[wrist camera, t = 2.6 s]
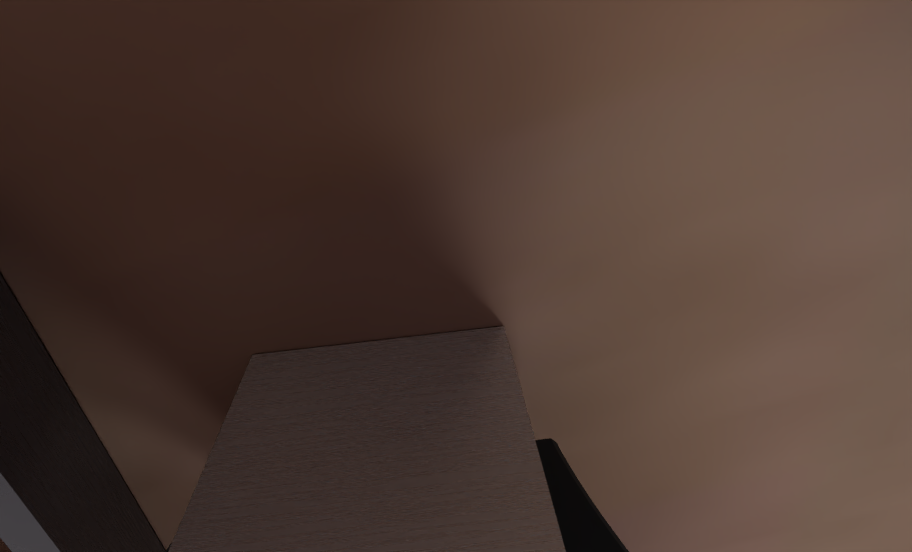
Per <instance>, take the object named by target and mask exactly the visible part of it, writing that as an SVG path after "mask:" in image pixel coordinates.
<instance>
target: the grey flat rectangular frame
mask: <svg viewBox="0 0 912 552" xmlns="http://www.w3.org/2000/svg"><path fill="white" fill-rule="evenodd" d="M0 538H1V539H2V540H3V542H4V543H5V544H6V545H7V546H8V548H9V549H10V550H11V551H12V552H165V550H164V548H163V546H162V545H161V543H160V541H159V540H158V538H157V536H156V535H155V533H154V531H153V530H152V528H151V526H150V525H149V523H148V521H147V519H146V518H145V516H144V514H143V513H142V511H141V509H140V508H139V506H138V504H137V503H136V501H135V499H134V498H133V496H132V494H131V493H130V491H129V489H128V488H127V486H126V484H125V482H124V481H123V479H122V477H121V476H120V474H119V472H118V471H117V469H116V467H115V466H114V464H113V462H112V461H111V459H110V457H109V456H108V454H107V452H106V451H105V449H104V447H103V446H102V444H101V442H100V440H99V439H98V437H97V435H96V434H95V432H94V430H93V429H92V427H91V425H90V424H89V422H88V420H87V419H86V417H85V415H84V414H83V412H82V410H81V409H80V407H79V405H78V403H77V402H76V400H75V398H74V397H73V395H72V393H71V392H70V390H69V388H68V387H67V385H66V383H65V382H64V380H63V378H62V377H61V375H60V373H59V372H58V370H57V368H56V366H55V365H54V363H53V361H52V360H51V358H50V356H49V355H48V353H47V351H46V350H45V348H44V346H43V345H42V343H41V341H40V340H39V338H38V336H37V335H36V333H35V331H34V329H33V328H32V326H31V324H30V323H29V321H28V319H27V318H26V316H25V314H24V313H23V311H22V309H21V308H20V306H19V304H18V303H17V301H16V299H15V298H14V296H13V294H12V293H11V291H10V289H9V287H8V286H7V284H6V282H5V281H4V279H3V277H2V276H1V274H0Z"/></svg>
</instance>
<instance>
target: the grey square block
mask: <svg viewBox="0 0 912 552" xmlns="http://www.w3.org/2000/svg"><path fill="white" fill-rule="evenodd" d="M168 552H566V550H565V547H564V543H563V539H562V536H561V532H560V529H559V525H558V521H557V518H556V514H555V510H554V507H553V503H552V499H551V496H550V492H549V489H548V485H547V481H546V478H545V474H544V470H543V467H542V463H541V459H540V456H539V452H538V449H537V445H536V441H535V438H534V434H533V430H532V427H531V423H530V419H529V416H528V412H527V409H526V405H525V401H524V398H523V394H522V390H521V387H520V383H519V379H518V376H517V372H516V369H515V365H514V361H513V358H512V354H511V350H510V347H509V343H508V339H507V336H506V332H505V329H504V326H501V327H492V328H483V329H475V330H466V331H457V332H448V333H439V334H431V335H422V336H413V337H404V338H396V339H387V340H378V341H369V342H361V343H352V344H343V345H334V346H326V347H317V348H308V349H299V350H290V351H282V352H273V353H264V354H255V355H252V357H251V359H250V361H249V364H248V366H247V368H246V371H245V373H244V375H243V378H242V380H241V382H240V385H239V387H238V390H237V392H236V394H235V397H234V399H233V401H232V404H231V406H230V408H229V411H228V413H227V415H226V418H225V420H224V422H223V425H222V427H221V429H220V432H219V434H218V436H217V439H216V441H215V443H214V446H213V448H212V450H211V453H210V455H209V457H208V460H207V462H206V464H205V467H204V469H203V471H202V474H201V476H200V478H199V481H198V483H197V486H196V488H195V490H194V493H193V495H192V497H191V500H190V502H189V504H188V507H187V509H186V511H185V514H184V516H183V518H182V521H181V523H180V525H179V528H178V530H177V532H176V535H175V537H174V539H173V542H172V544H171V546H170V549H169V551H168Z"/></svg>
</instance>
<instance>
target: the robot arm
mask: <svg viewBox="0 0 912 552" xmlns="http://www.w3.org/2000/svg"><path fill="white" fill-rule="evenodd" d="M535 441H536V445H537V449H538V452H539V456H540V459H541V463H542V467H543V470H544V474H545V478H546V481H547V485H548V489H549V492H550V496H551V499H552V503H553V507H554V510H555V514H556V518H557V521H558V525H559V529H560V532H561V536H562V539H563V543H564V547H565V550H566V552H629V551H628V550H627V549H626V547H625V546H624V545H623V543H622V542H621V541H620V539H619V538H618V536H617V535H616V534H615V532H614V531H613V530H612V528H611V527H610V526H609V524H608V523H607V521H606V520H605V519H604V517H603V516H602V515H601V513H600V512H599V510H598V509H597V507H596V506H595V505H594V503H593V502H592V500H591V499H590V497H589V496H588V494H587V493H586V491H585V490H584V488H583V487H582V485H581V483H580V482H579V480H578V479H577V477H576V476H575V474H574V472H573V471H572V469H571V467H570V466H569V464H568V462H567V461H566V459H565V457H564V455H563V454H562V452H561V450H560V448H559V446H558V444H557V443H556V442H555V441H554V440H552V439H542V440H535ZM171 544H172V543H171ZM171 544H170V546H171ZM170 546H169V547H168V548H167V550H166V551H165V552H168V551H169V549H170Z"/></svg>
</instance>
